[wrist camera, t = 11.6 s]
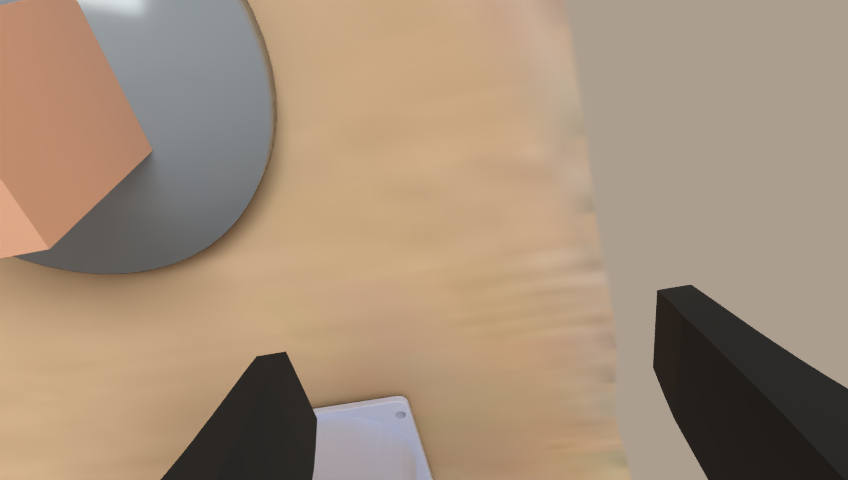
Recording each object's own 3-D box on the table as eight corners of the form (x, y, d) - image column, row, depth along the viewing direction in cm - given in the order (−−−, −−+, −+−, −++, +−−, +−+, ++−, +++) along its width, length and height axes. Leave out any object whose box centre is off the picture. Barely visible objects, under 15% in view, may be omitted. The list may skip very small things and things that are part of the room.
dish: (327, 222, 21) (323, 238, 20) (0, 282, 22) (-19, 301, 21) (164, -249, 13) (144, -262, 12) (-318, -119, 14) (-373, -121, 13)
